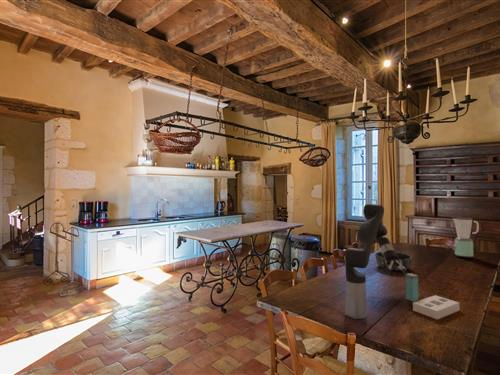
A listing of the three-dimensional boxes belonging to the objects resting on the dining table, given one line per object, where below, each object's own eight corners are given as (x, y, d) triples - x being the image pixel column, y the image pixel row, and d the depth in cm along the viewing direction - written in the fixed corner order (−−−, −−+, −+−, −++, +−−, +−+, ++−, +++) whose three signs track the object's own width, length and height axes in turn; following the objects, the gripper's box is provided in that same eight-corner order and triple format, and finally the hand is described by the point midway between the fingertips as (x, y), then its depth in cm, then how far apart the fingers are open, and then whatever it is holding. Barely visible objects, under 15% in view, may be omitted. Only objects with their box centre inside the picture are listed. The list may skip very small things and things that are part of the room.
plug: (413, 301, 163) (413, 276, 163) (405, 298, 167) (405, 274, 167) (418, 300, 165) (417, 275, 165) (410, 297, 169) (410, 273, 169)
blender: (451, 257, 258) (451, 217, 258) (453, 254, 269) (452, 216, 268) (479, 260, 246) (478, 218, 246) (479, 257, 257) (478, 217, 257)
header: (437, 319, 141) (437, 310, 141) (413, 310, 151) (412, 302, 151) (459, 310, 150) (459, 302, 150) (435, 302, 161) (435, 294, 161)
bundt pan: (419, 268, 226) (419, 255, 226) (401, 275, 211) (400, 261, 211) (386, 261, 248) (386, 249, 248) (368, 267, 233) (367, 254, 233)
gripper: (380, 249, 185) (390, 273, 174) (401, 249, 187) (413, 272, 175) (375, 256, 191) (385, 279, 179) (396, 255, 192) (408, 278, 180)
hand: (399, 275), depth 177 cm, fingers open, 8 cm apart
